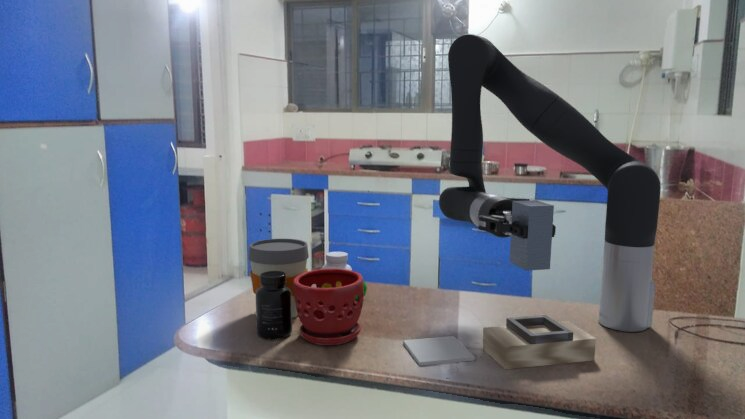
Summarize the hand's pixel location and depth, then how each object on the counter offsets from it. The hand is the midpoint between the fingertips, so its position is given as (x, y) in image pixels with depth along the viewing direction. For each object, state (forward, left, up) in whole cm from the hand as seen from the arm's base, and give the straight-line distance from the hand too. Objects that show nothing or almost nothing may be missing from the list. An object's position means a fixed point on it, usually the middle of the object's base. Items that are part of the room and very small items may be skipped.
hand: (539, 232), depth 97 cm
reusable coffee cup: (+41, -34, -23) cm, 58 cm away
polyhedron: (+23, -40, -23) cm, 51 cm away
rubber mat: (+15, -7, -23) cm, 28 cm away
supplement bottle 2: (+29, -32, -23) cm, 49 cm away
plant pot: (+33, -18, -23) cm, 44 cm away
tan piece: (-2, -2, -23) cm, 23 cm away
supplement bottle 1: (+43, -22, -23) cm, 53 cm away
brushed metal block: (0, -3, -6) cm, 7 cm away
